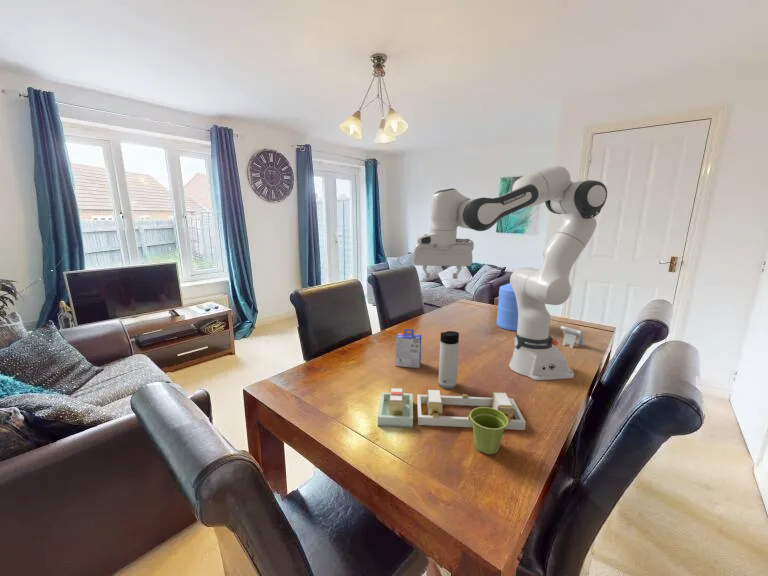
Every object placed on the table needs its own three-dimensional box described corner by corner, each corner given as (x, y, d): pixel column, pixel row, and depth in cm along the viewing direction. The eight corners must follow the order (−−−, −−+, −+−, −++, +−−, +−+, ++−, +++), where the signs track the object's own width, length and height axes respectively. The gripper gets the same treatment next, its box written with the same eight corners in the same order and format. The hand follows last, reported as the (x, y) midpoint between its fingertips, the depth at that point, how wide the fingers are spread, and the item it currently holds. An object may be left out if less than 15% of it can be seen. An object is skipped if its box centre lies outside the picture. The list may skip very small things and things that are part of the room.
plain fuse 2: (503, 408, 102) (505, 391, 100) (512, 425, 93) (513, 407, 92) (490, 408, 102) (492, 390, 100) (498, 425, 94) (499, 406, 92)
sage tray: (412, 401, 105) (412, 393, 104) (412, 428, 92) (412, 418, 92) (381, 400, 106) (381, 392, 105) (377, 426, 93) (377, 417, 92)
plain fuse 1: (439, 405, 103) (439, 388, 102) (441, 422, 95) (442, 404, 94) (426, 405, 103) (427, 388, 102) (428, 421, 95) (428, 403, 94)
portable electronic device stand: (584, 345, 149) (587, 328, 147) (577, 349, 145) (579, 332, 143) (565, 339, 156) (567, 323, 154) (557, 343, 151) (559, 326, 149)
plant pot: (461, 437, 89) (463, 409, 87) (492, 432, 91) (495, 404, 89) (479, 462, 80) (481, 431, 78) (512, 456, 82) (516, 425, 80)
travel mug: (446, 391, 111) (449, 336, 106) (434, 382, 117) (436, 330, 112) (460, 387, 114) (463, 333, 109) (448, 378, 119) (451, 327, 115)
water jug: (532, 331, 166) (538, 277, 160) (501, 331, 167) (506, 277, 160) (520, 321, 182) (525, 272, 175) (492, 321, 182) (496, 272, 175)
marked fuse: (402, 404, 103) (403, 386, 101) (402, 420, 95) (402, 401, 93) (390, 403, 103) (390, 385, 102) (389, 420, 95) (389, 400, 94)
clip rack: (512, 405, 103) (513, 396, 102) (525, 430, 91) (526, 419, 91) (417, 401, 105) (417, 392, 105) (417, 424, 94) (418, 414, 93)
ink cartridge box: (421, 362, 133) (422, 328, 129) (419, 368, 127) (420, 333, 124) (397, 360, 134) (397, 327, 131) (394, 366, 129) (395, 332, 126)
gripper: (472, 237, 113) (470, 277, 116) (413, 237, 114) (412, 276, 117) (476, 239, 107) (473, 280, 110) (413, 239, 108) (412, 279, 111)
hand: (441, 278), depth 114 cm, fingers open, 8 cm apart
